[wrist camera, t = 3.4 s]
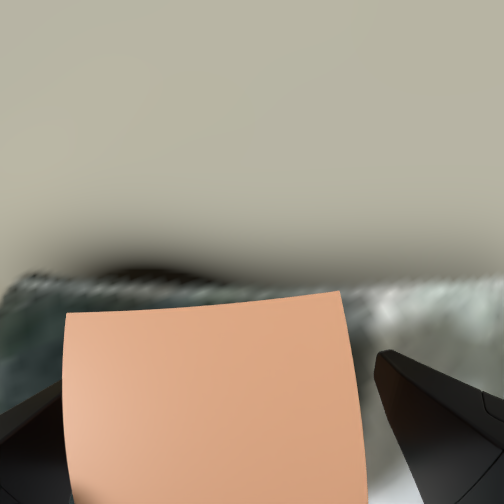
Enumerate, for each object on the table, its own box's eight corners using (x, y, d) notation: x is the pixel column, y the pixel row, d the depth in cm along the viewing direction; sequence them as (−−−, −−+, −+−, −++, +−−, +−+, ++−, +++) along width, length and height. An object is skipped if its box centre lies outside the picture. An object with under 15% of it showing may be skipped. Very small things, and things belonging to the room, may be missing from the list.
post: (299, 454, 12) (368, 555, 2) (201, 461, 12) (87, 549, 2) (288, 365, 14) (339, 290, 5) (194, 373, 14) (66, 312, 5)
